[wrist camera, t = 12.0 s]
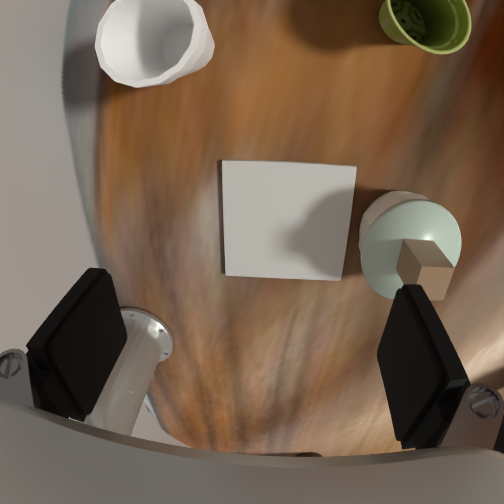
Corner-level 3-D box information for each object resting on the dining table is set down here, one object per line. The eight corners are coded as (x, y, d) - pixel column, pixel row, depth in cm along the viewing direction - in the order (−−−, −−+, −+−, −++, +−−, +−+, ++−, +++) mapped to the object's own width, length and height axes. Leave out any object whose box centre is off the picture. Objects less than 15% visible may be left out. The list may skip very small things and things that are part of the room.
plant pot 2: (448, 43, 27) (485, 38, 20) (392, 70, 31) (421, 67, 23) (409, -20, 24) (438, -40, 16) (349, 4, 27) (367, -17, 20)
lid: (441, 296, 38) (460, 330, 32) (351, 294, 39) (361, 333, 32) (468, 204, 31) (499, 230, 25) (369, 193, 32) (389, 219, 26)
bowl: (423, 266, 42) (438, 289, 37) (352, 263, 43) (361, 288, 38) (440, 194, 37) (460, 211, 32) (364, 186, 38) (377, 203, 33)
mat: (340, 278, 45) (340, 280, 44) (226, 273, 46) (225, 275, 45) (355, 165, 37) (356, 167, 36) (222, 159, 38) (221, 160, 37)
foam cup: (173, 99, 35) (124, 108, 23) (137, 41, 31) (79, 30, 20) (242, 59, 32) (223, 45, 21) (204, -1, 28) (169, -36, 17)
